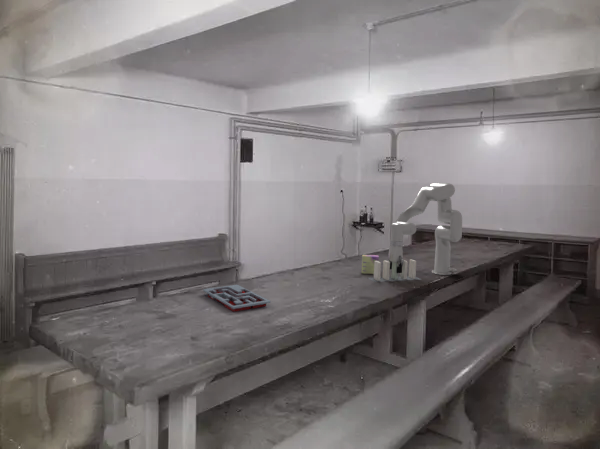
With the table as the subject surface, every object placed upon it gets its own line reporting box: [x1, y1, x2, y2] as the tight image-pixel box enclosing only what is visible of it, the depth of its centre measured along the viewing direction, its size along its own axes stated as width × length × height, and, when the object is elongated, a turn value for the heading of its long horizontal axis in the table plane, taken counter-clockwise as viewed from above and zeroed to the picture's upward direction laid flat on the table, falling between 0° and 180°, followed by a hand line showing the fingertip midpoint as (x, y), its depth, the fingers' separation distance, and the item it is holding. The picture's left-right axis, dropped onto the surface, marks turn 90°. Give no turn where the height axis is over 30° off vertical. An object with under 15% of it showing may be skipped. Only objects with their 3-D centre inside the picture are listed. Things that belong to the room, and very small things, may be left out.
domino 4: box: [399, 259, 409, 279], centre depth 283 cm, size 2×5×11 cm, turn 17°
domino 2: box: [382, 260, 391, 280], centre depth 279 cm, size 2×5×11 cm, turn 17°
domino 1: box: [373, 261, 382, 281], centre depth 277 cm, size 2×5×11 cm, turn 17°
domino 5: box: [408, 259, 417, 279], centre depth 285 cm, size 2×5×11 cm, turn 17°
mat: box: [367, 275, 422, 283], centre depth 282 cm, size 32×10×1 cm, turn 107°
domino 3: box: [390, 262, 399, 280], centre depth 281 cm, size 2×5×11 cm, turn 16°
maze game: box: [202, 284, 272, 313], centre depth 230 cm, size 35×20×3 cm, turn 35°
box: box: [360, 254, 380, 275], centre depth 296 cm, size 10×6×12 cm, turn 84°
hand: (395, 271), depth 281 cm, fingers open, 9 cm apart
